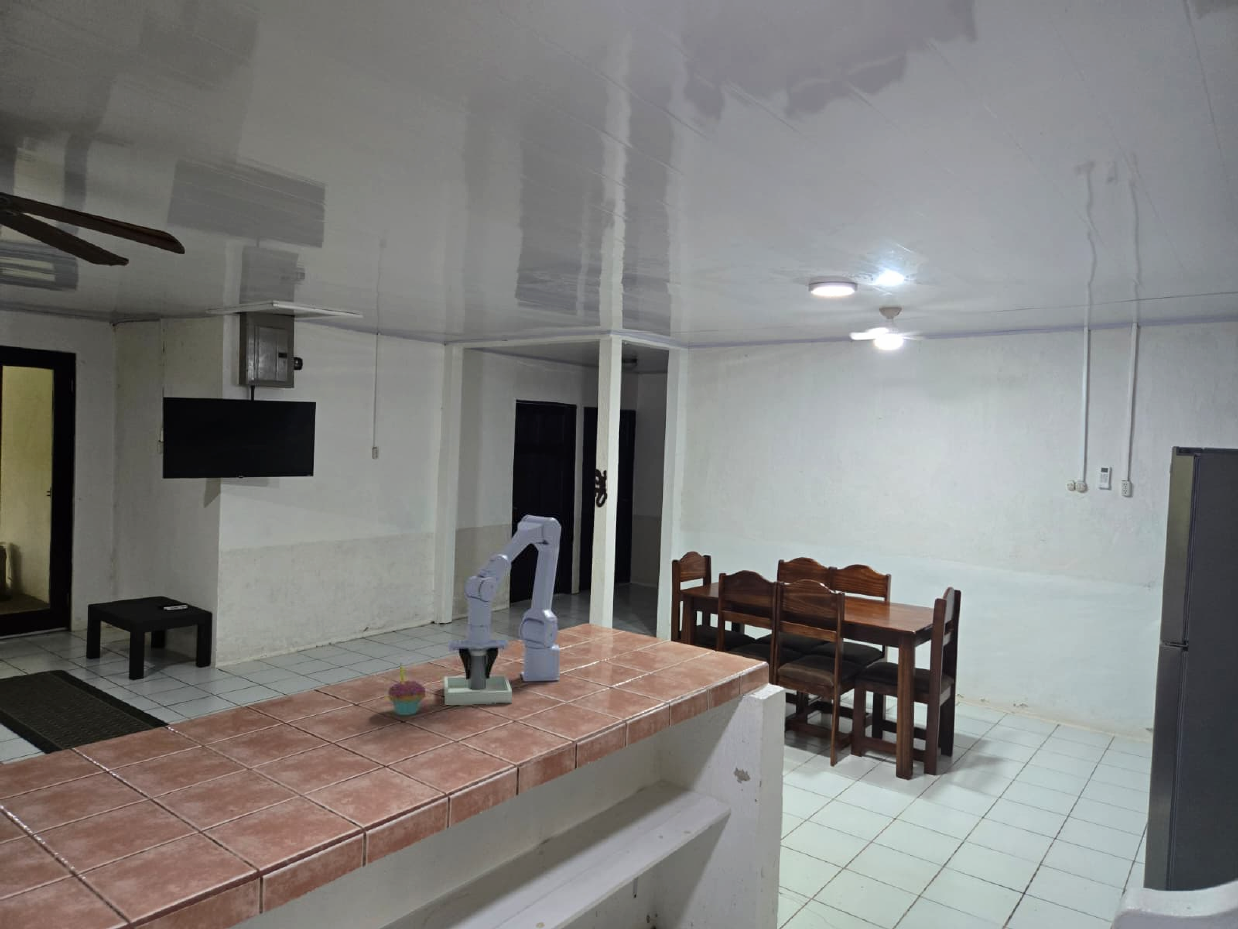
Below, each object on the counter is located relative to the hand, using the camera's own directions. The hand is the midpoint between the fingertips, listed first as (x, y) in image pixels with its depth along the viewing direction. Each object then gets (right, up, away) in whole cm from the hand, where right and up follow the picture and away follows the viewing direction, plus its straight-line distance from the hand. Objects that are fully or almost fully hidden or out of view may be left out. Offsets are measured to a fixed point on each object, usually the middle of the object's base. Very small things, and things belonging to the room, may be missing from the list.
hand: (477, 678), depth 206 cm
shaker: (0, -3, 0) cm, 3 cm away
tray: (0, -5, 0) cm, 4 cm away
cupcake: (-14, -5, -13) cm, 20 cm away
